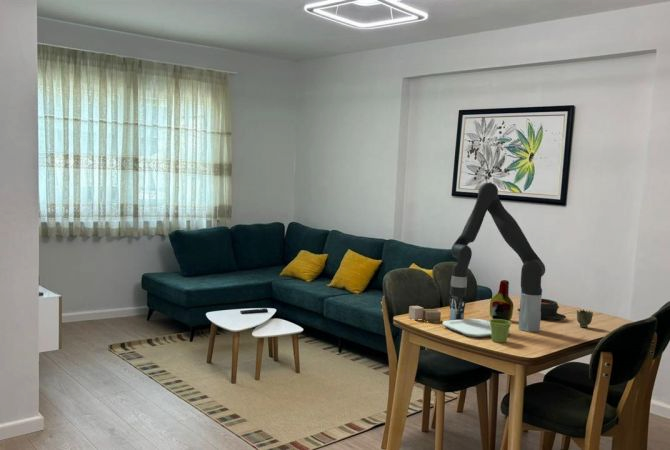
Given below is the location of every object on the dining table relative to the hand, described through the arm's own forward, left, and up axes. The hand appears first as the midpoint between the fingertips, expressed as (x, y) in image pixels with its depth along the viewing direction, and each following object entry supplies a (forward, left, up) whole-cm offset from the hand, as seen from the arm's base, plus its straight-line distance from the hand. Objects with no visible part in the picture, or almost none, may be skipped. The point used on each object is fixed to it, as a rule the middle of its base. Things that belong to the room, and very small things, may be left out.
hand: (455, 319), depth 295 cm
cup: (-11, -62, -1) cm, 63 cm away
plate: (-17, -3, -1) cm, 17 cm away
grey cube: (0, 0, -1) cm, 1 cm away
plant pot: (-34, -5, -1) cm, 34 cm away
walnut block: (+2, +12, -1) cm, 12 cm away
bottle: (+5, -26, -1) cm, 27 cm away
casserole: (+11, -52, -1) cm, 54 cm away
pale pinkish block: (+5, +19, -1) cm, 19 cm away
